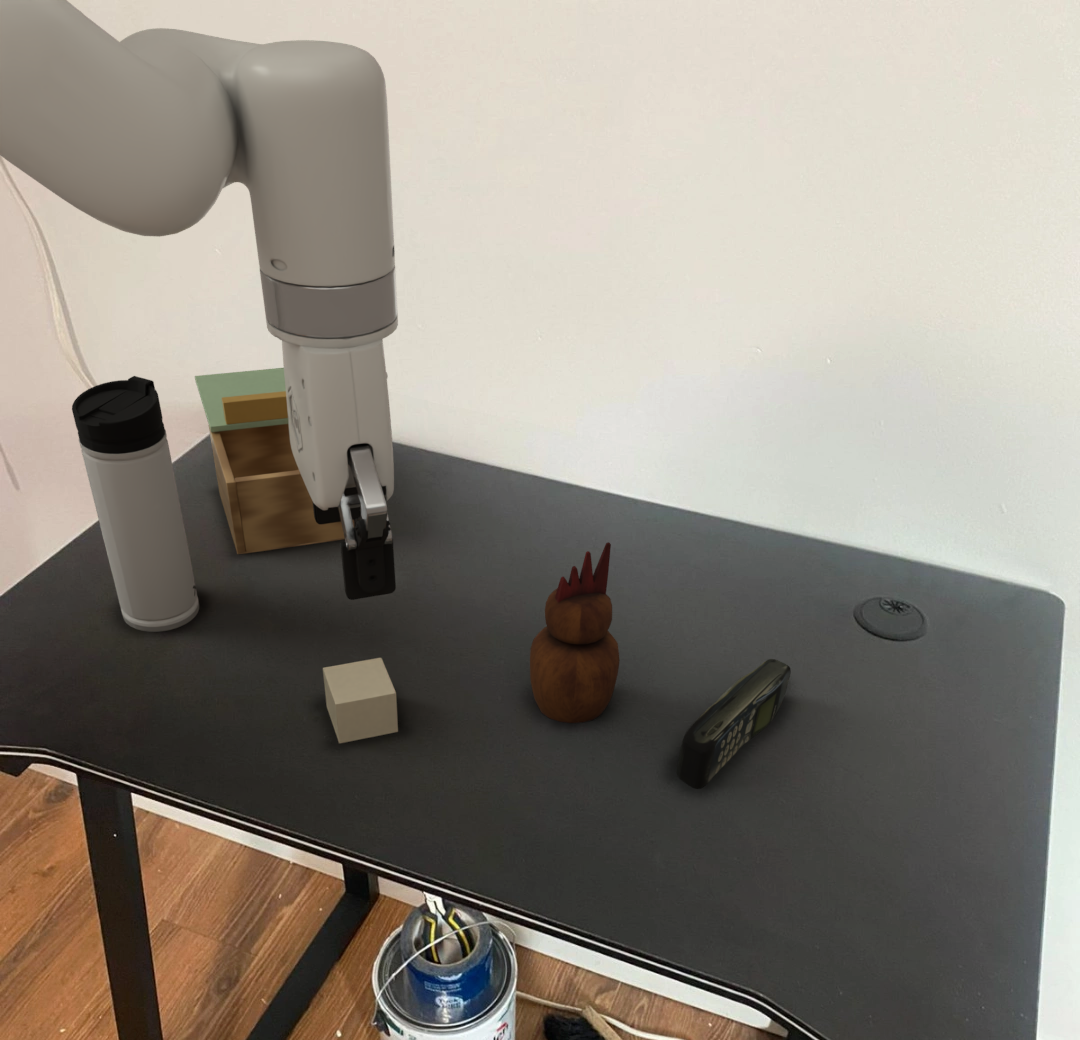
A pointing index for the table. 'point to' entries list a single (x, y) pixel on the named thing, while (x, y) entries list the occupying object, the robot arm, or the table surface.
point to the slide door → (244, 399)
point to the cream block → (360, 700)
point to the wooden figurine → (576, 647)
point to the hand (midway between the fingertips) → (353, 555)
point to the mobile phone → (732, 722)
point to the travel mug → (137, 502)
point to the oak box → (265, 491)
